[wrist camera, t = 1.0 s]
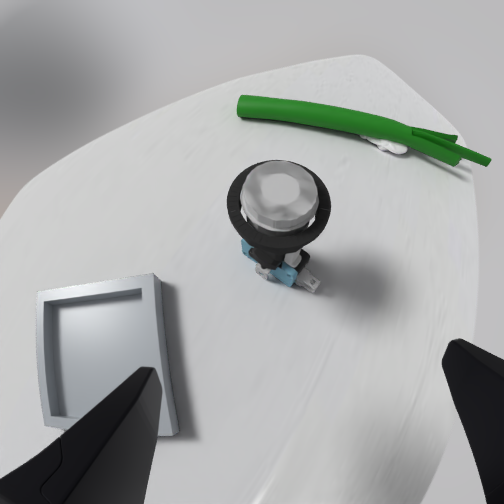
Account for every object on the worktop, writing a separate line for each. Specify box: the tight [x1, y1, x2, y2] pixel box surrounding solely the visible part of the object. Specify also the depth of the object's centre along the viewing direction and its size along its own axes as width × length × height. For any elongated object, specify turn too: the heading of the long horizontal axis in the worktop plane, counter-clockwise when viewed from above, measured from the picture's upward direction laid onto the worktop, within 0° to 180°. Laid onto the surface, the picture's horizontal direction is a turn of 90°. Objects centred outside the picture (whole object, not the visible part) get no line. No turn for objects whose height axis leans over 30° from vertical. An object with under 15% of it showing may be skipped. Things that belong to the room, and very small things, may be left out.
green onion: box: [237, 95, 491, 167], centre depth 27 cm, size 5×3×30 cm
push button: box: [227, 160, 331, 293], centre depth 18 cm, size 7×5×10 cm
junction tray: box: [36, 273, 180, 436], centre depth 19 cm, size 12×12×2 cm
